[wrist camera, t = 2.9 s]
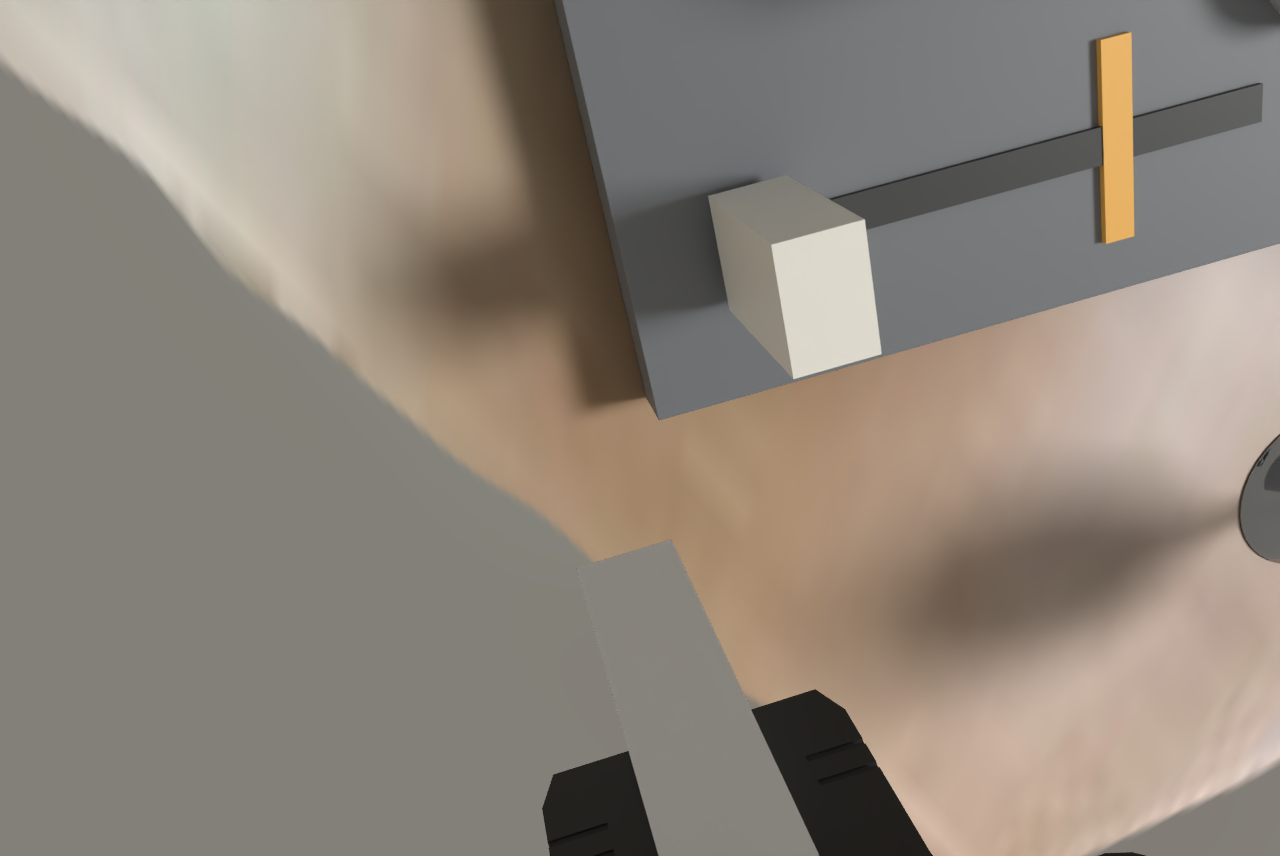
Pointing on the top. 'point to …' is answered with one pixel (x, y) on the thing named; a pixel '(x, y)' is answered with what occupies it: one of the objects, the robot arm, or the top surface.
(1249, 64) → the console
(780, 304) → the fader
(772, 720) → the robot arm
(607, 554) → the top surface
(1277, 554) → the wine glass
